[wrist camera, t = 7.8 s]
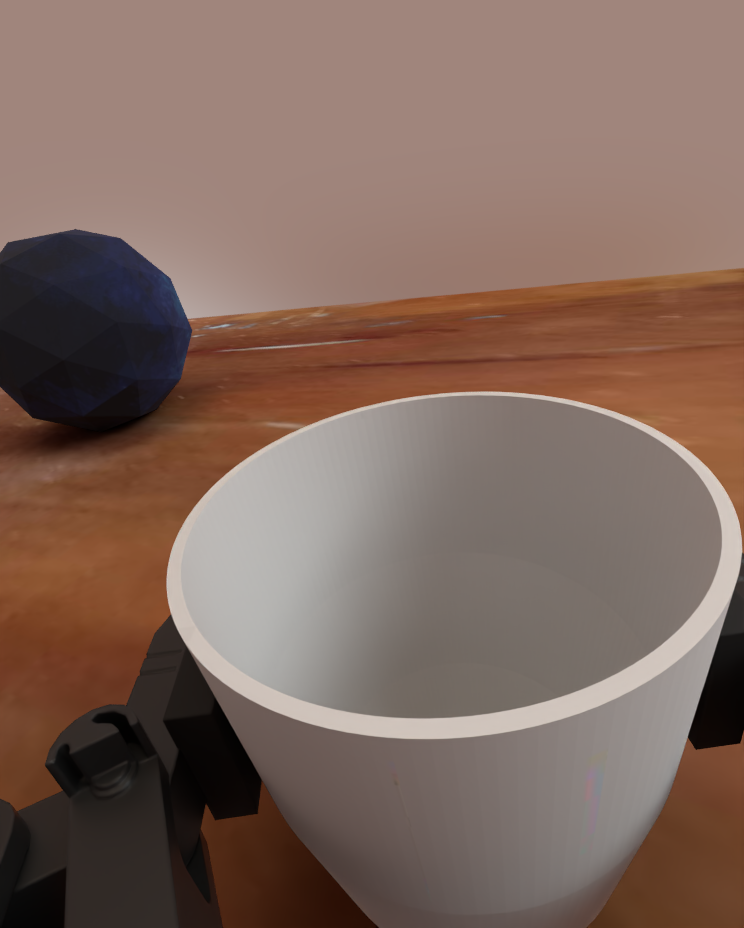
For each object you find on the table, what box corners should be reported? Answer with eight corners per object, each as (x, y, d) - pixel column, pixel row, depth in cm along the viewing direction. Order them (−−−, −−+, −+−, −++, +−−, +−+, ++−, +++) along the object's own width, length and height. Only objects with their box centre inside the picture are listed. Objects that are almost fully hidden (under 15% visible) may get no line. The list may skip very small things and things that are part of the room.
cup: (655, 734, 15) (705, 392, 10) (671, 1197, 8) (827, 869, 4) (380, 671, 18) (319, 390, 13) (243, 971, 12) (32, 641, 7)
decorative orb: (108, 323, 53) (-39, 198, 40) (244, 309, 48) (127, 162, 35) (60, 458, 48) (-128, 366, 35) (206, 458, 43) (53, 350, 30)
